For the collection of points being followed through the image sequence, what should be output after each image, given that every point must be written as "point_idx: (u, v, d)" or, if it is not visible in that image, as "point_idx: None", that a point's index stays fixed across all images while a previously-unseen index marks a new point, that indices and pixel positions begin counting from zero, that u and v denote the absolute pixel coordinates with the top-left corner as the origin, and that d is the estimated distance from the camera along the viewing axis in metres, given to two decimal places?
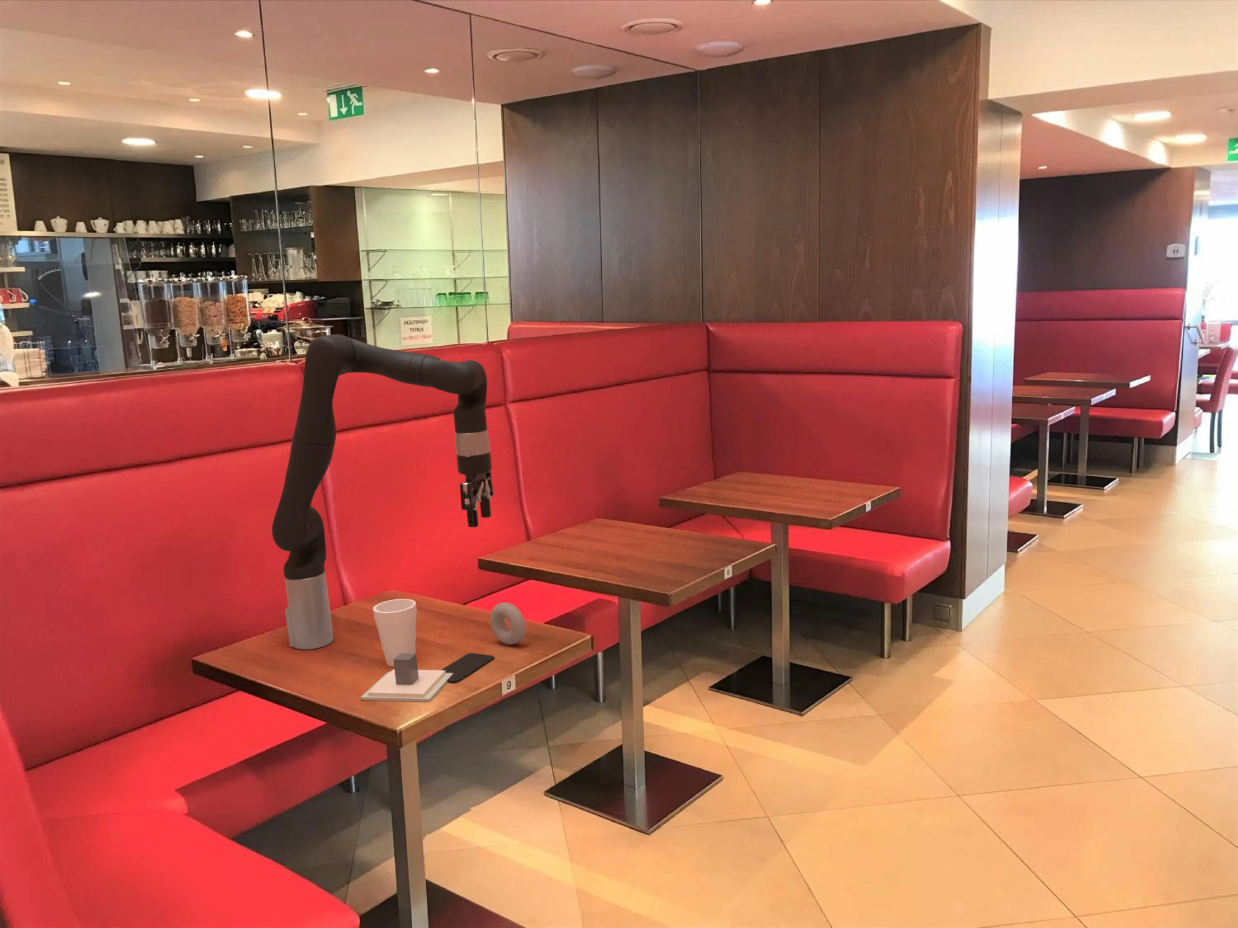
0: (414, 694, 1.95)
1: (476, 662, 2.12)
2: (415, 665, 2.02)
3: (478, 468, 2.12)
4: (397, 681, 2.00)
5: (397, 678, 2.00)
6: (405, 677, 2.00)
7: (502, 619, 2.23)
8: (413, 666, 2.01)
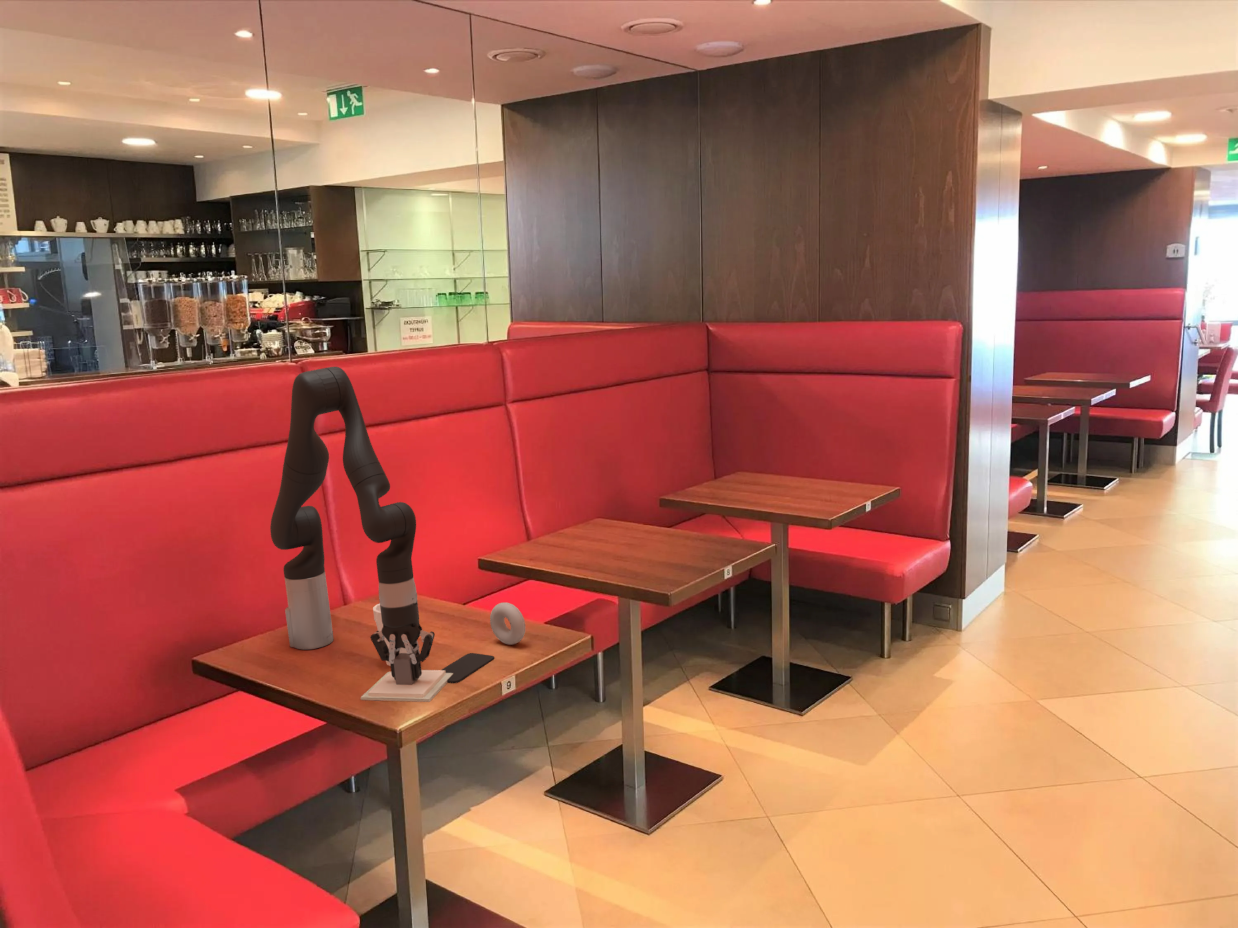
0: (414, 694, 1.95)
1: (476, 662, 2.12)
2: None
3: None
4: (397, 681, 2.00)
5: (397, 678, 2.00)
6: (405, 677, 2.00)
7: (502, 619, 2.23)
8: None
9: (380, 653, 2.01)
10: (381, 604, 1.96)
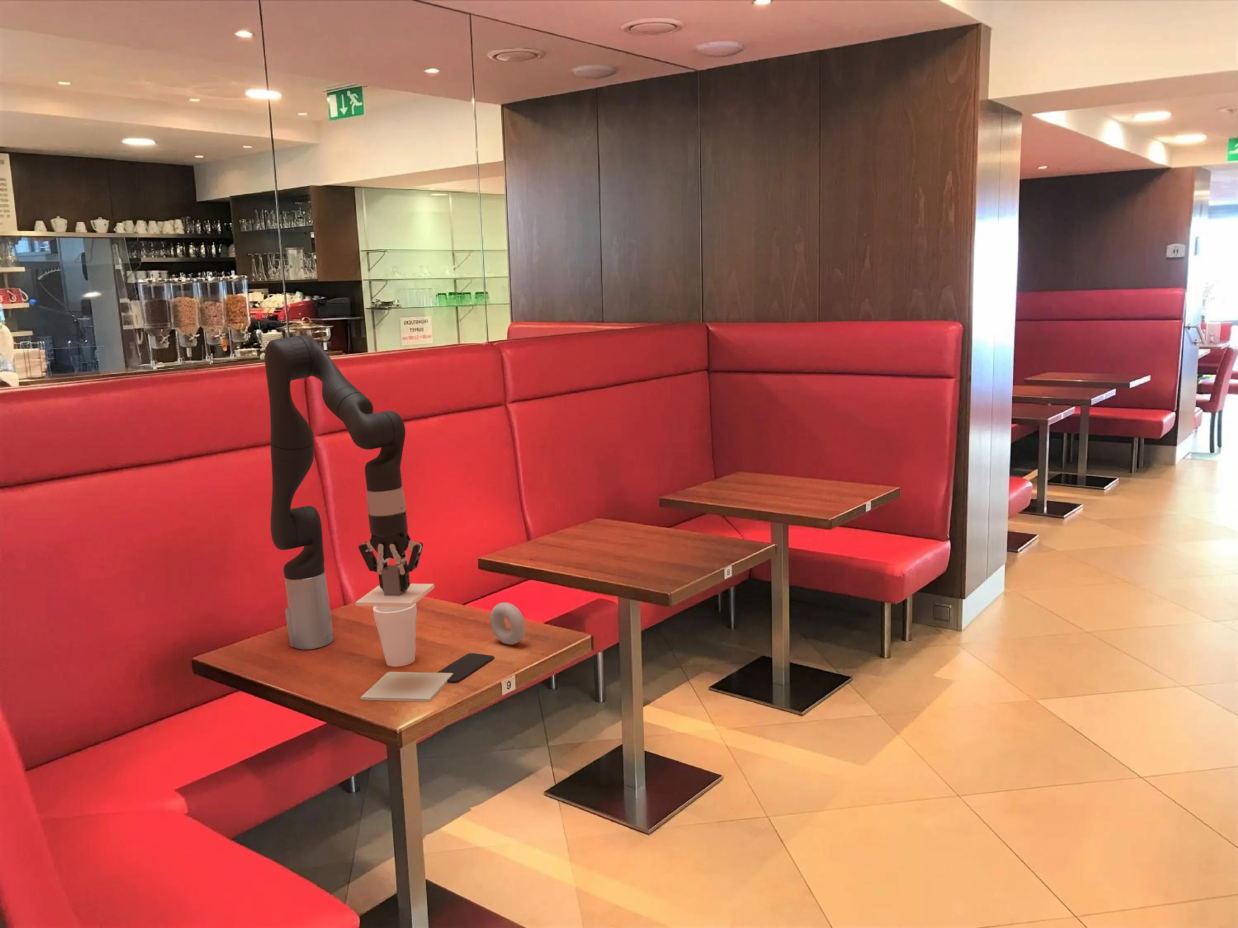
0: (402, 603, 1.94)
1: (476, 662, 2.12)
2: None
3: None
4: (385, 592, 1.99)
5: (385, 589, 1.99)
6: (393, 588, 1.99)
7: (502, 619, 2.23)
8: None
9: (368, 564, 1.99)
10: (369, 513, 1.95)
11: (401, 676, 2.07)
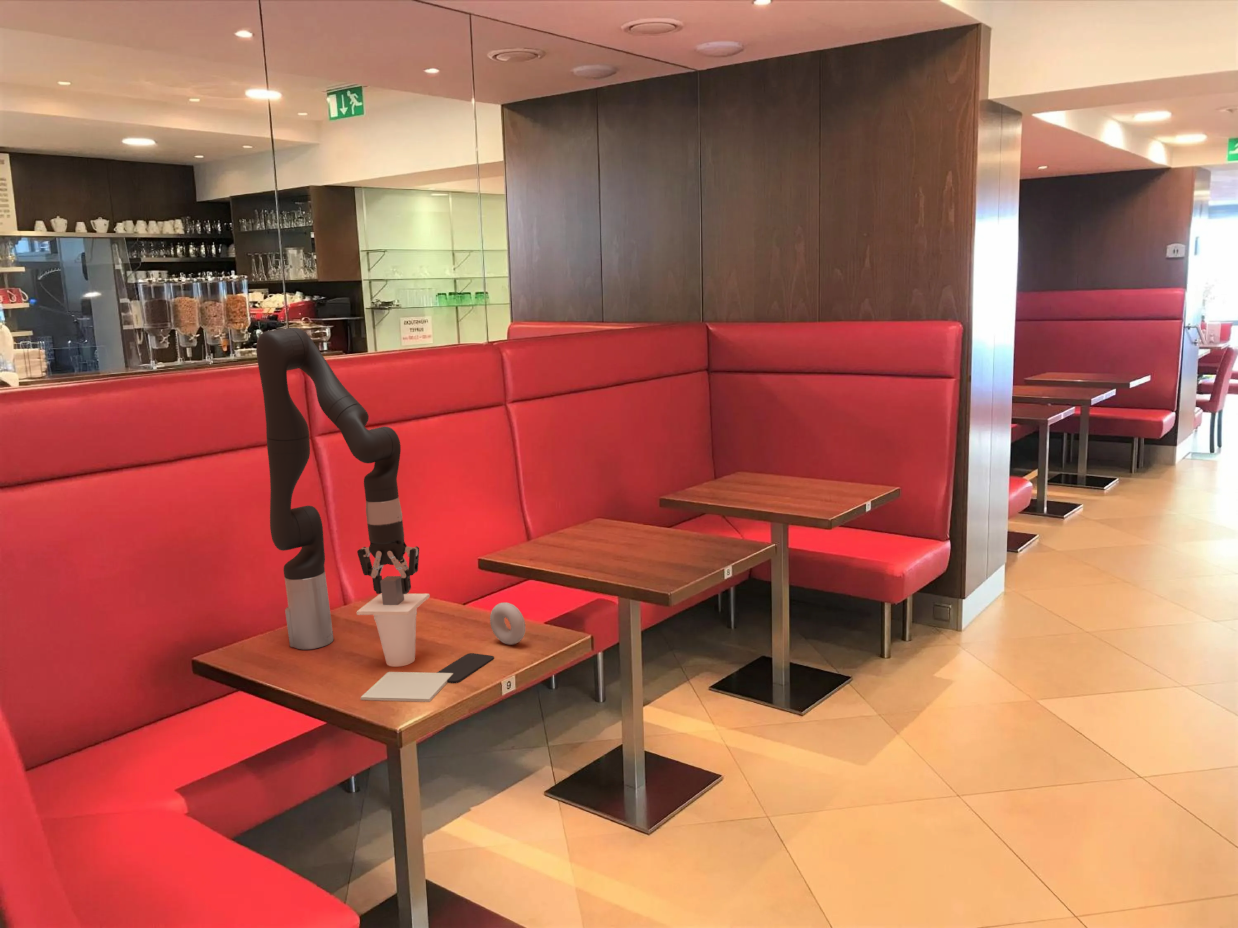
0: (400, 612, 2.08)
1: (476, 662, 2.12)
2: (401, 587, 2.15)
3: None
4: (384, 602, 2.13)
5: (384, 599, 2.13)
6: (391, 597, 2.13)
7: (502, 619, 2.23)
8: (399, 588, 2.14)
9: (363, 568, 2.13)
10: (368, 522, 2.09)
11: (401, 676, 2.07)
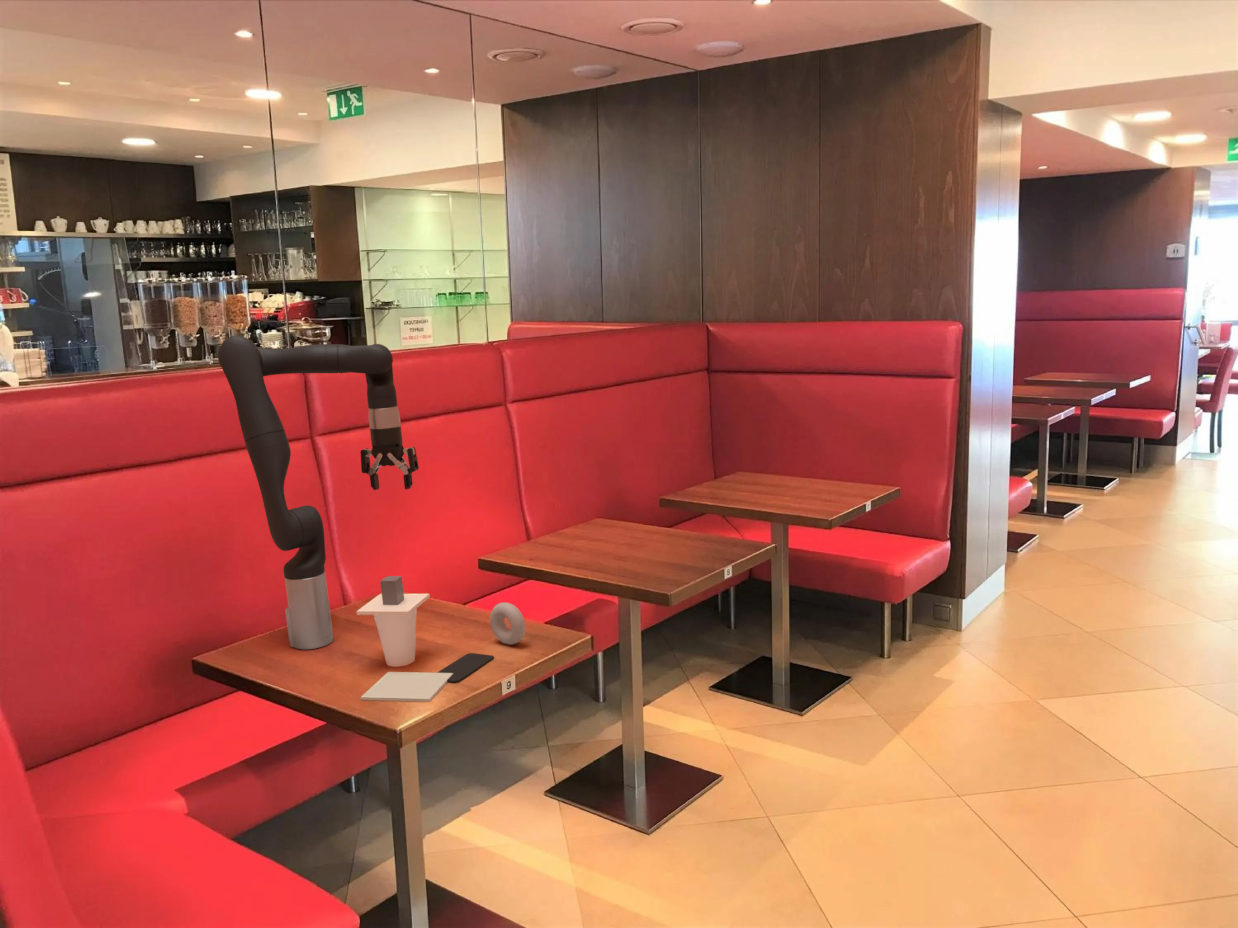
0: (400, 612, 2.08)
1: (476, 662, 2.12)
2: (401, 587, 2.15)
3: None
4: (384, 602, 2.13)
5: (384, 599, 2.13)
6: (391, 597, 2.13)
7: (502, 619, 2.23)
8: (399, 588, 2.14)
9: (363, 466, 2.42)
10: (370, 427, 2.37)
11: (401, 676, 2.07)
